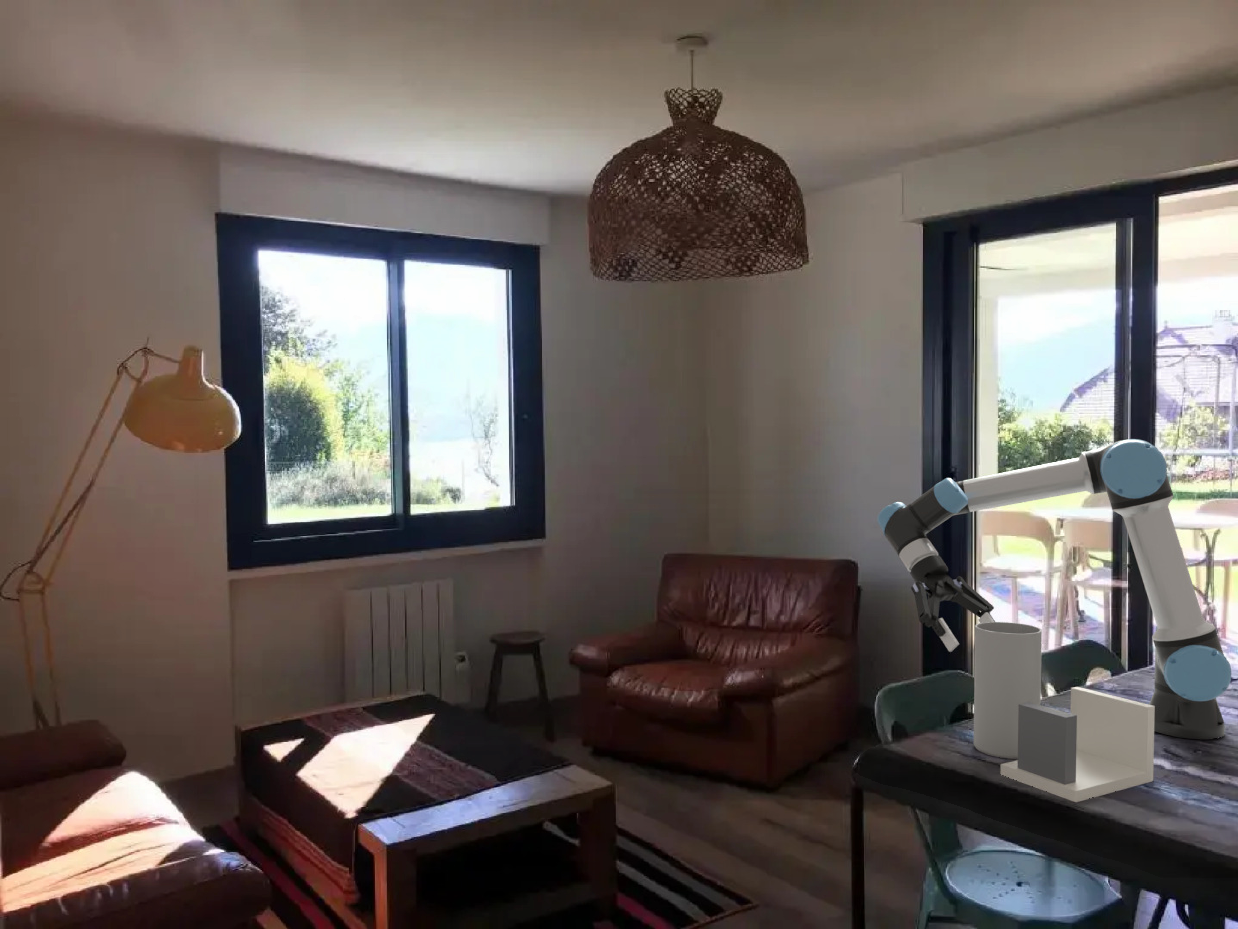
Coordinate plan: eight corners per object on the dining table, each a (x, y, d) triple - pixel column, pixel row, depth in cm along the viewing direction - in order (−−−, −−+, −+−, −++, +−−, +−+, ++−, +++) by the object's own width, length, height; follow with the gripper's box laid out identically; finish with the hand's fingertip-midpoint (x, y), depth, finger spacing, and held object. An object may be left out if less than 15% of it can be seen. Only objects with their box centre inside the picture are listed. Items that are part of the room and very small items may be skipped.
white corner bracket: (1076, 756, 198) (1077, 686, 198) (1153, 781, 184) (1154, 706, 184) (1000, 774, 187) (1001, 701, 187) (1076, 802, 173) (1077, 722, 173)
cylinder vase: (960, 745, 205) (961, 624, 204) (1005, 738, 210) (1007, 620, 209) (1006, 764, 194) (1008, 636, 193) (1053, 755, 199) (1055, 631, 198)
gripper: (955, 570, 228) (1007, 648, 216) (873, 578, 216) (924, 661, 203) (973, 550, 223) (1029, 628, 211) (891, 556, 211) (944, 640, 199)
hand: (977, 644), depth 207 cm, fingers open, 13 cm apart
